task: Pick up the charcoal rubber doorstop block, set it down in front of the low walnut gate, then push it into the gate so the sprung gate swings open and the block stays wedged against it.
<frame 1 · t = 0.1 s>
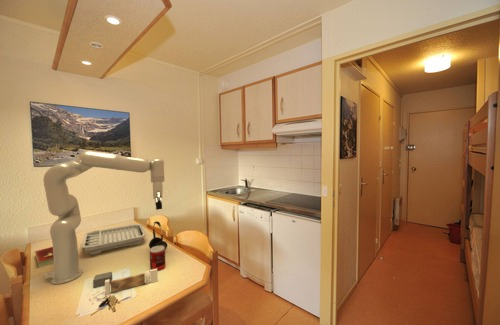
hand: (158, 207, 128), 31 cm above the table, fingers open, 9 cm apart
dish rack: (115, 244, 150), on the table
hardcover book: (50, 259, 130), on the table
canned food: (157, 268, 118), on the table
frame: (147, 283, 104), on the table
door: (128, 283, 100), point 3 cm above the table, hinge at 0.0°
doorstop: (103, 283, 104), on the table
headphones: (158, 252, 136), on the table
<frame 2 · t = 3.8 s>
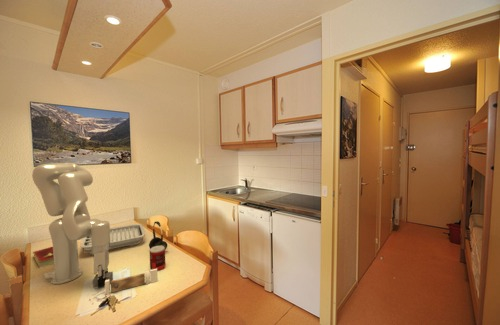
hand: (103, 282, 104), 1 cm above the table, fingers closed on doorstop, 5 cm apart
doorstop: (103, 283, 104), on the table, touching gripper
when the fingers open (2 cm above the table, at t = 7.7 s): doorstop drops 1 cm, on the table.
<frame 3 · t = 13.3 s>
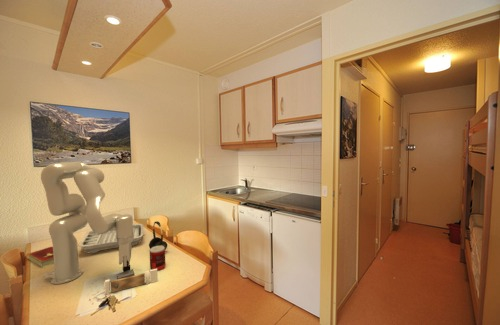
hand: (126, 273, 110), 2 cm above the table, fingers closed
doorstop: (126, 281, 106), on the table, touching gripper
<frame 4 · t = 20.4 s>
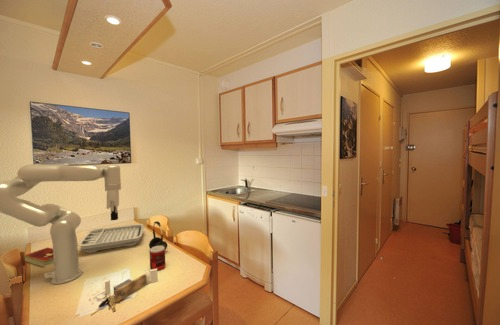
hand: (114, 219, 118), 27 cm above the table, fingers closed
door: (132, 287, 96), point 3 cm above the table, hinge at 35.2°
doorstop: (124, 293, 97), on the table
at the end: door at +35° (first picture: +0°); doorstop inside the target area (0.6 cm from its centre), on the table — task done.
